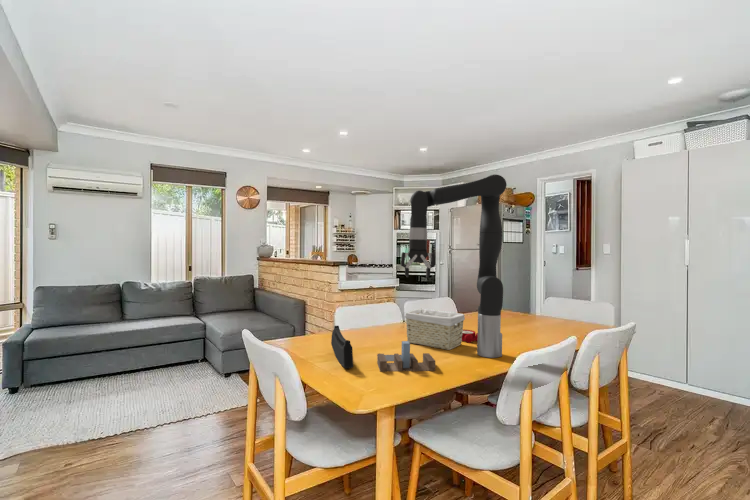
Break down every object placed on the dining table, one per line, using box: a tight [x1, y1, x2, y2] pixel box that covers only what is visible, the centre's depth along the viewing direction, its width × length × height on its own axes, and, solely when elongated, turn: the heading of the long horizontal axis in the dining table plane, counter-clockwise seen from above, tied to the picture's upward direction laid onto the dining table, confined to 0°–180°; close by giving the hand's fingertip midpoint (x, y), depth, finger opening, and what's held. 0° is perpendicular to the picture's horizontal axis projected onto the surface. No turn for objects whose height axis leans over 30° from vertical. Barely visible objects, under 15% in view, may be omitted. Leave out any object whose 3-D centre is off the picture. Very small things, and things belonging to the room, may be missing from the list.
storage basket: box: [404, 308, 466, 351], centre depth 183 cm, size 24×16×15 cm
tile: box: [400, 340, 411, 368], centre depth 145 cm, size 2×4×9 cm, turn 7°
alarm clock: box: [461, 329, 478, 343], centre depth 192 cm, size 10×6×15 cm
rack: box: [376, 352, 436, 373], centre depth 145 cm, size 20×10×4 cm, turn 95°
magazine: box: [330, 325, 354, 369], centre depth 154 cm, size 17×3×30 cm
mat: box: [384, 354, 401, 362], centre depth 157 cm, size 10×9×1 cm
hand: (417, 277), depth 166 cm, fingers open, 8 cm apart
